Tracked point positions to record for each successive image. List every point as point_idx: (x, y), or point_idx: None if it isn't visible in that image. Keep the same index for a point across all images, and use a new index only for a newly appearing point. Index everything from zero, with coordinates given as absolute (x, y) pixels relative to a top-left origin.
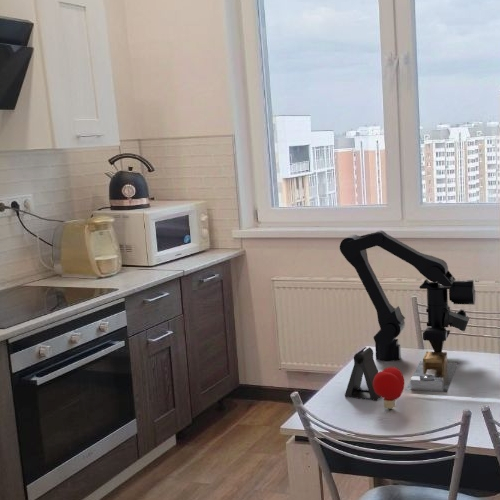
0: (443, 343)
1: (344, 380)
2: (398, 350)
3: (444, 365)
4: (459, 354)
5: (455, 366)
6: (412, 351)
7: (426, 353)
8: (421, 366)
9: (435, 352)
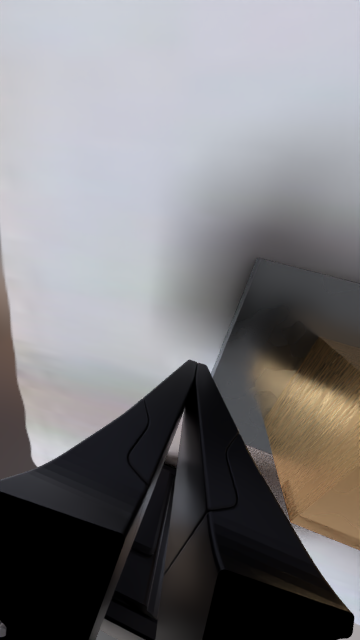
0: (141, 409)
1: None
2: (159, 526)
3: None
4: (40, 214)
5: (349, 286)
6: (46, 396)
7: (350, 541)
8: None
9: (351, 493)
